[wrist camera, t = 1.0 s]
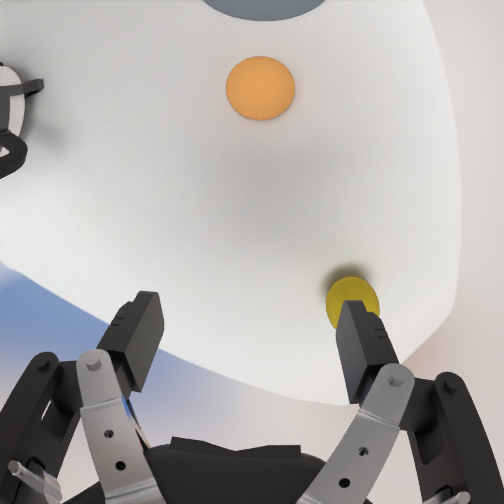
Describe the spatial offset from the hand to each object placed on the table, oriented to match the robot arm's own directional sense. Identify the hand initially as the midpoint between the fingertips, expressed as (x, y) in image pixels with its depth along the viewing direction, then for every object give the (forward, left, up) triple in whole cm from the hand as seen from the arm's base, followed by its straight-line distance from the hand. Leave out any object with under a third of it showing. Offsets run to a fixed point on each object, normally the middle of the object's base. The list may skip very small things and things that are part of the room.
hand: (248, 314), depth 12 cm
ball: (0, +10, -15) cm, 18 cm away
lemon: (+10, -10, -18) cm, 23 cm away
